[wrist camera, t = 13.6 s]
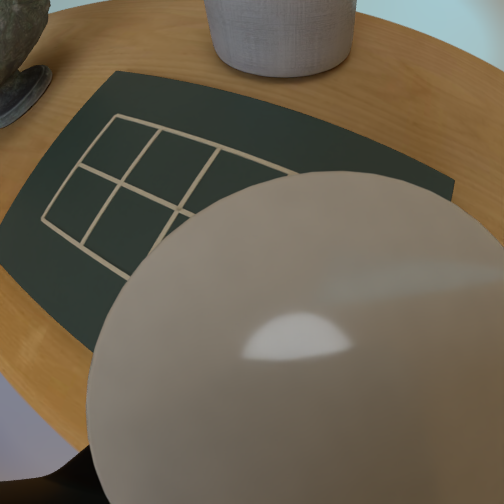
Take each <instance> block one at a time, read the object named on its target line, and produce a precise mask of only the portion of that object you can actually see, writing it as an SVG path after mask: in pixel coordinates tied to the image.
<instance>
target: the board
mask: <svg viewBox="0 0 504 504" xmlns="http://www.w3.org/2000/svg"><path fill="white" fill-rule="evenodd" d="M324 171H351V172H361V173H371V174H377V175H382V176H386V177H390V178H395V179H399V180H403V181H406V182H408V183H411V184H414V185H416V186H419V187H422V188H424V189H427V190H429V191H431V192H433V193H435V194H437V195H439V196H441V197H443V198H445V199H446V200H448V201H450V202H451V199H452V193H453V188H454V183H455V180H454V179H452V178H450V177H448V176H446V175H444V174H442V173H441V172H439V171H437V170H435V169H433V168H431V167H429V166H427V165H425V164H423V163H421V162H419V161H417V160H415V159H413V158H411V157H409V156H407V155H405V154H402V153H400V152H398V151H396V150H394V149H392V148H389V147H387V146H385V145H383V144H380V143H378V142H376V141H373V140H371V139H369V138H366V137H364V136H361V135H359V134H357V133H354V132H352V131H349V130H347V129H344V128H341V127H339V126H336V125H334V124H331V123H328V122H325V121H323V120H320V119H317V118H314V117H312V116H309V115H306V114H303V113H300V112H297V111H294V110H291V109H288V108H284V107H281V106H278V105H275V104H272V103H268V102H265V101H261V100H258V99H254V98H251V97H247V96H243V95H240V94H236V93H232V92H228V91H224V90H220V89H216V88H211V87H207V86H203V85H198V84H193V83H189V82H184V81H179V80H173V79H168V78H162V77H157V76H151V75H144V74H137V73H130V72H123V71H115V72H114V73H113V74H112V75H111V76H110V77H109V79H108V80H107V81H106V82H105V83H104V84H103V85H102V86H101V87H100V88H99V89H98V90H97V91H96V92H95V93H94V94H93V96H92V97H91V98H90V99H89V100H88V101H87V102H86V103H85V104H84V106H83V107H82V108H81V109H80V110H79V111H78V113H77V114H76V115H75V116H74V117H73V119H72V120H71V121H70V122H69V123H68V125H67V126H66V127H65V128H64V130H63V131H62V132H61V133H60V135H59V136H58V137H57V139H56V140H55V141H54V142H53V144H52V145H51V146H50V148H49V149H48V151H47V152H46V153H45V155H44V156H43V157H42V159H41V160H40V162H39V163H38V165H37V166H36V167H35V169H34V170H33V172H32V173H31V175H30V176H29V178H28V179H27V181H26V182H25V184H24V186H23V187H22V189H21V190H20V192H19V193H18V195H17V197H16V198H15V200H14V202H13V203H12V205H11V207H10V208H9V210H8V212H7V214H6V215H5V217H4V219H3V221H2V223H1V224H0V264H1V265H2V266H3V268H4V269H5V270H6V271H7V272H8V273H9V274H10V275H11V276H12V277H13V278H14V280H15V281H16V282H17V283H18V284H19V285H20V286H21V287H22V288H23V289H24V290H25V291H26V292H27V293H28V294H29V295H30V296H31V297H32V298H33V299H34V300H35V301H36V302H37V303H38V304H39V305H40V306H41V307H42V308H43V309H44V310H45V311H46V312H47V313H48V314H49V315H51V316H52V317H53V318H54V319H55V320H56V321H57V322H58V323H59V324H60V325H61V326H63V327H64V328H65V329H66V330H67V331H68V332H69V333H70V334H72V335H73V336H74V337H75V338H76V339H77V340H79V341H80V342H81V343H82V344H83V345H85V346H86V347H87V348H88V349H89V350H91V351H92V352H93V353H94V349H95V345H96V343H97V340H98V337H99V335H100V332H101V329H102V327H103V324H104V322H105V319H106V317H107V315H108V313H109V311H110V309H111V307H112V305H113V304H114V302H115V300H116V298H117V296H118V295H119V293H120V291H121V289H122V288H123V286H124V285H125V283H126V282H127V281H128V279H129V278H130V277H131V275H132V274H133V273H134V271H135V270H136V269H137V267H138V266H139V265H140V263H141V262H142V261H143V260H144V259H145V258H146V257H147V256H148V255H149V254H150V252H151V251H152V250H153V249H154V248H155V247H156V246H157V245H158V244H159V243H160V242H161V241H162V240H163V239H164V238H165V237H166V236H168V235H169V234H170V233H171V232H173V231H174V230H175V229H176V228H178V227H179V226H180V225H181V224H183V223H184V222H185V221H187V220H188V219H189V218H190V217H192V216H193V215H195V214H197V213H198V212H200V211H202V210H203V209H205V208H207V207H208V206H210V205H212V204H213V203H215V202H217V201H218V200H220V199H222V198H225V197H227V196H229V195H231V194H234V193H236V192H238V191H240V190H243V189H245V188H247V187H250V186H253V185H256V184H259V183H263V182H266V181H269V180H273V179H276V178H280V177H284V176H290V175H296V174H303V173H309V172H324Z"/></svg>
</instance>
